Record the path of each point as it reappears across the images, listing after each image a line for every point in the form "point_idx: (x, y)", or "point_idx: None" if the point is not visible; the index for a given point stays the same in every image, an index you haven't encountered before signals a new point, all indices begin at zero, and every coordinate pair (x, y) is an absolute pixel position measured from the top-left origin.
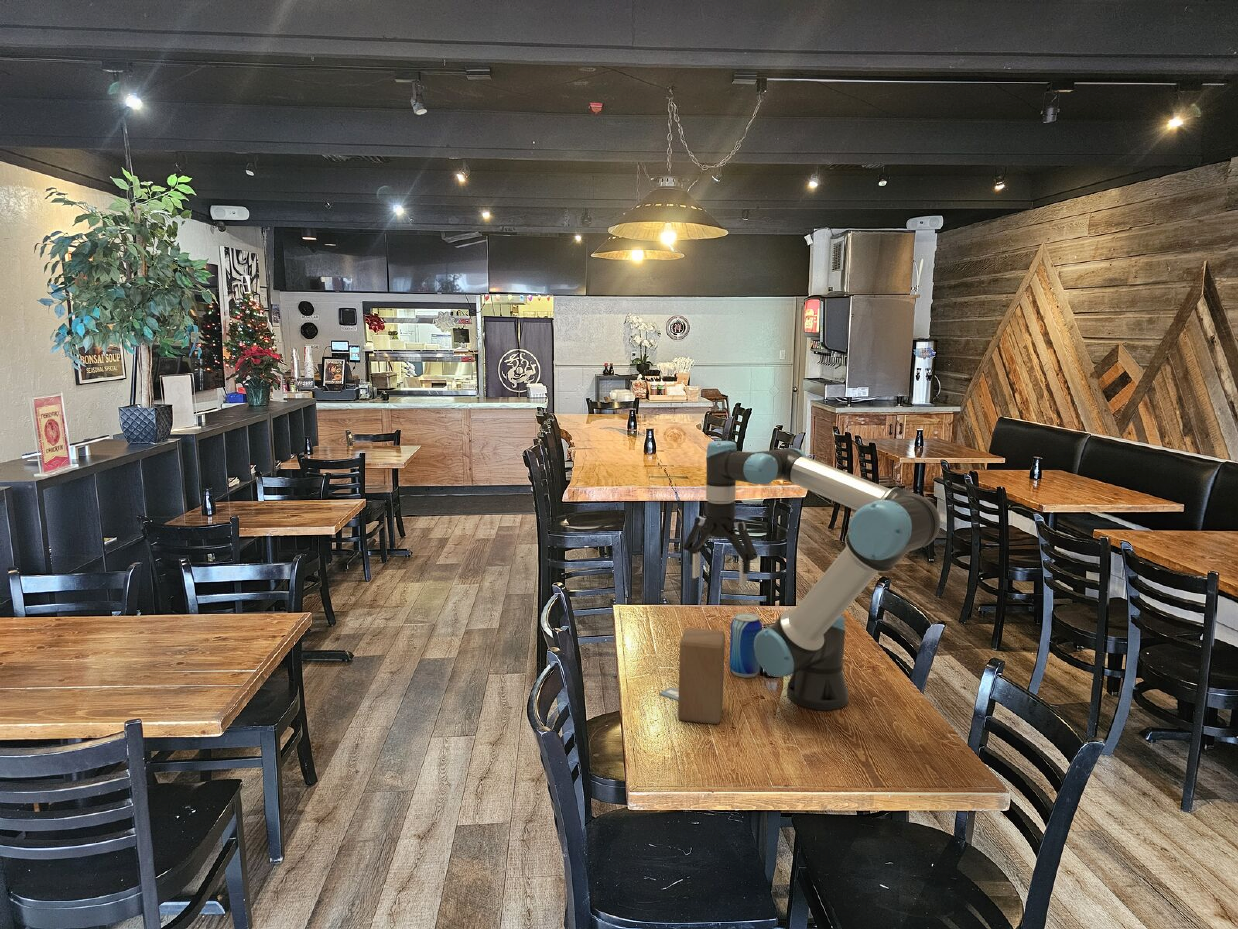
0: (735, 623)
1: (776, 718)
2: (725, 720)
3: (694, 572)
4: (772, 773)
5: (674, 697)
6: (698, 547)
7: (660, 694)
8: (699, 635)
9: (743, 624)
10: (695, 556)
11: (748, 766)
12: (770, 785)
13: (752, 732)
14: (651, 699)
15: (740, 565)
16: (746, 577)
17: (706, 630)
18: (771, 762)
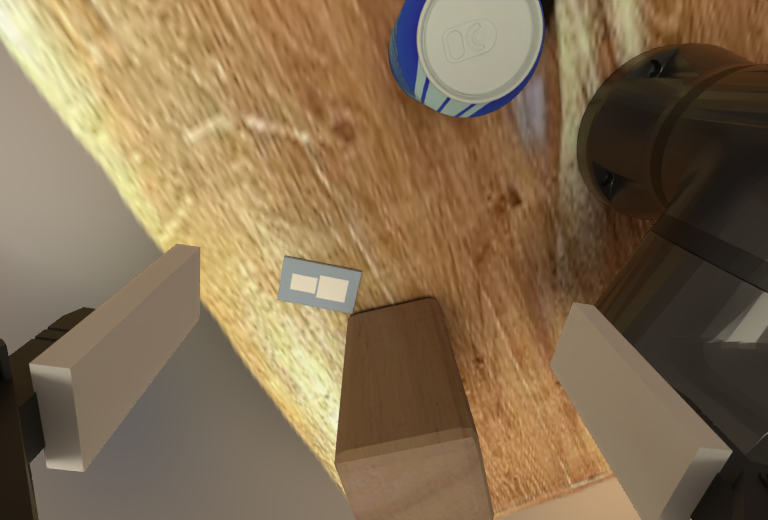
0: (430, 95)
1: (560, 288)
2: (456, 341)
3: (175, 343)
4: (569, 459)
5: (319, 304)
6: (36, 517)
7: (281, 299)
8: (409, 510)
9: (472, 107)
10: (98, 446)
11: (529, 458)
12: (568, 485)
13: (518, 362)
14: (274, 325)
15: (635, 495)
16: (619, 335)
17: (416, 466)
18: (564, 435)
